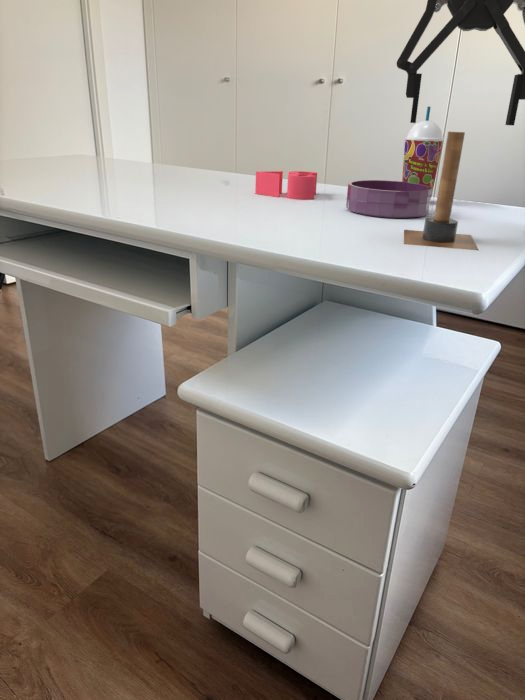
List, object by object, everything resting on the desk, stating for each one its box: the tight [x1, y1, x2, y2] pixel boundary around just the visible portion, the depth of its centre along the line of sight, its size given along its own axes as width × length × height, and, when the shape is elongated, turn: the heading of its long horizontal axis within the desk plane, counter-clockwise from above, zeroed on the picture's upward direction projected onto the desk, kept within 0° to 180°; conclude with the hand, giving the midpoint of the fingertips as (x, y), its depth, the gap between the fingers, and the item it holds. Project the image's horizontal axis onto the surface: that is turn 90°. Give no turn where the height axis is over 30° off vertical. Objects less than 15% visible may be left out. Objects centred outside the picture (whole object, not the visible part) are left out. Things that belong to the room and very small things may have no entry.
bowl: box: [345, 179, 433, 219], centre depth 107 cm, size 16×16×6 cm
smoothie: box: [401, 106, 445, 197], centre depth 119 cm, size 8×8×20 cm
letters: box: [254, 170, 318, 200], centre depth 126 cm, size 14×10×5 cm
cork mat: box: [403, 229, 480, 251], centre depth 86 cm, size 11×11×1 cm
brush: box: [422, 131, 466, 243], centre depth 83 cm, size 5×5×16 cm
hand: (460, 124), depth 79 cm, fingers open, 13 cm apart
